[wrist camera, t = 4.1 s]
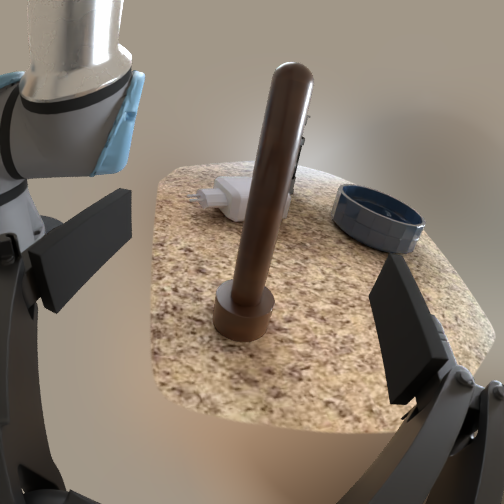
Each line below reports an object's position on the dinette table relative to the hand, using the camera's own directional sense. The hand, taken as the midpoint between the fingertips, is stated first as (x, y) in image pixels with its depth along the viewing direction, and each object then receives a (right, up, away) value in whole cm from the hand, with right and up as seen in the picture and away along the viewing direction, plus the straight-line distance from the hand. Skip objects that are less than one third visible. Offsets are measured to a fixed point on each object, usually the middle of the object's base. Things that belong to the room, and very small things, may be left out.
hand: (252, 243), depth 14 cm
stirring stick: (-1, -7, +12) cm, 14 cm away
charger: (-3, +6, +32) cm, 33 cm away
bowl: (+23, +3, +37) cm, 43 cm away
